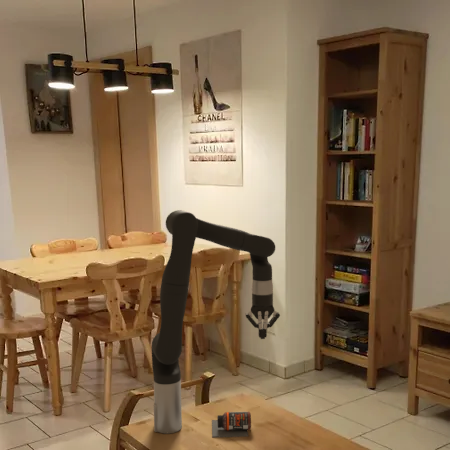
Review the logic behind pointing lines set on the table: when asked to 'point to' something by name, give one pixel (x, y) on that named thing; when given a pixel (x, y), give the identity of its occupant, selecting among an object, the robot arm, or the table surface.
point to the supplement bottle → (234, 421)
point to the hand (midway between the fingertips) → (262, 338)
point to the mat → (223, 433)
